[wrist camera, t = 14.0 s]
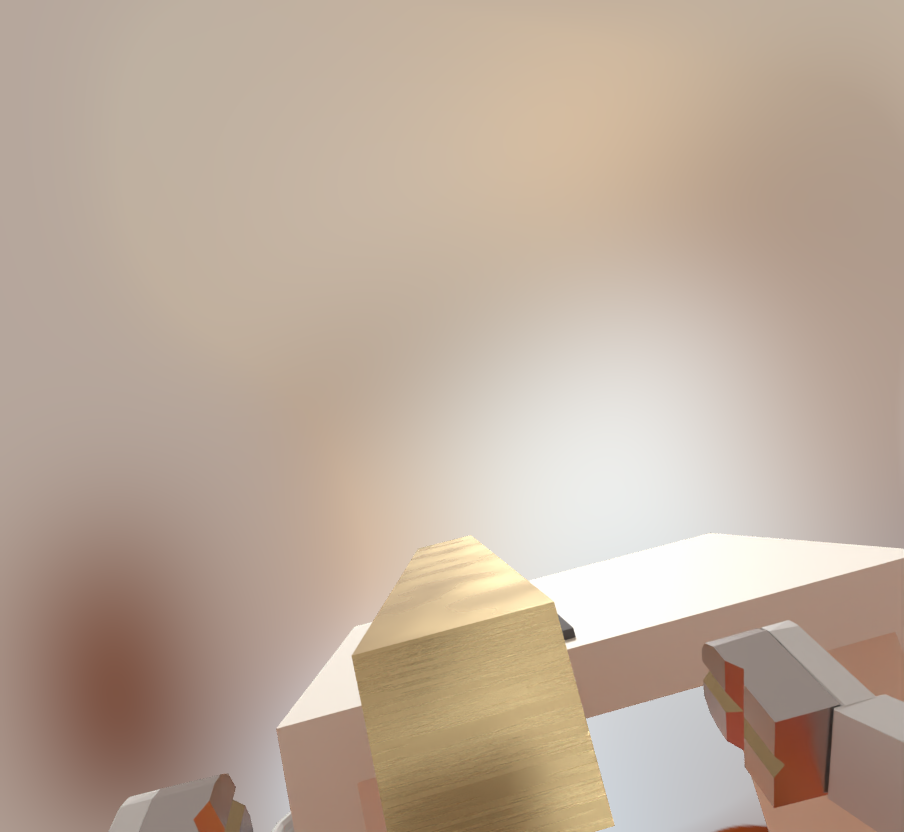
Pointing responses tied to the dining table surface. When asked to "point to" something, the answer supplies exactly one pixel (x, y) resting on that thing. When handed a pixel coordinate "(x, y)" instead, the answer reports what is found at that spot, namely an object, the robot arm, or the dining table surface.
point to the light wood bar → (475, 703)
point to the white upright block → (638, 654)
